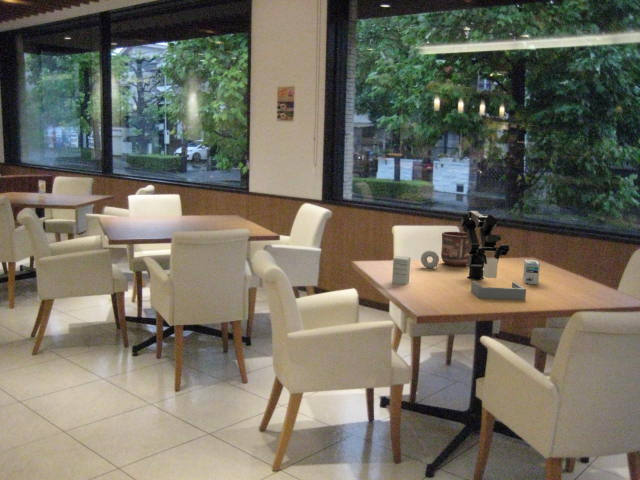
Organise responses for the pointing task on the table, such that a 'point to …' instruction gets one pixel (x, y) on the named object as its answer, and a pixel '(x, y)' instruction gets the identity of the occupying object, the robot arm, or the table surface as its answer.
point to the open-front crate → (499, 292)
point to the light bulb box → (531, 271)
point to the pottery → (455, 248)
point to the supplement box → (401, 270)
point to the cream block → (490, 268)
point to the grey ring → (431, 254)
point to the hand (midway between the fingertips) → (491, 263)
